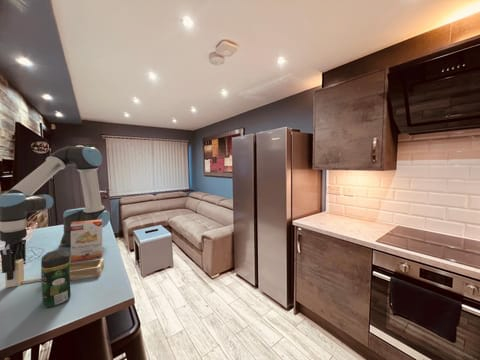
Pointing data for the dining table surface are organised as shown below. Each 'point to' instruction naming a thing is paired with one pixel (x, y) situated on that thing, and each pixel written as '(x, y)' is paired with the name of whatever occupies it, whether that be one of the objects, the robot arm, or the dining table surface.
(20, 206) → the robot arm
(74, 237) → the cracker box
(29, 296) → the dining table surface
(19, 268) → the corded block
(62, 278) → the coffee jar
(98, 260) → the frame
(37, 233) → the dining table surface
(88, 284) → the dining table surface
